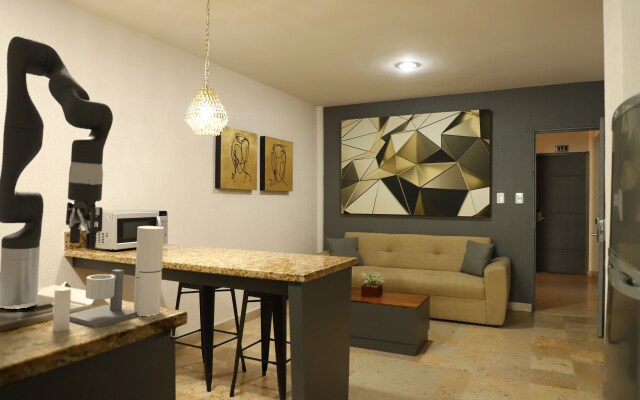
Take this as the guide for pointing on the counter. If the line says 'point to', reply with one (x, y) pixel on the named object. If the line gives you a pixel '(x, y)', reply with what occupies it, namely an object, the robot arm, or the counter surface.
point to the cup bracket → (104, 289)
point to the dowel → (61, 309)
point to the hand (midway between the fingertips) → (82, 245)
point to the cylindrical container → (148, 270)
